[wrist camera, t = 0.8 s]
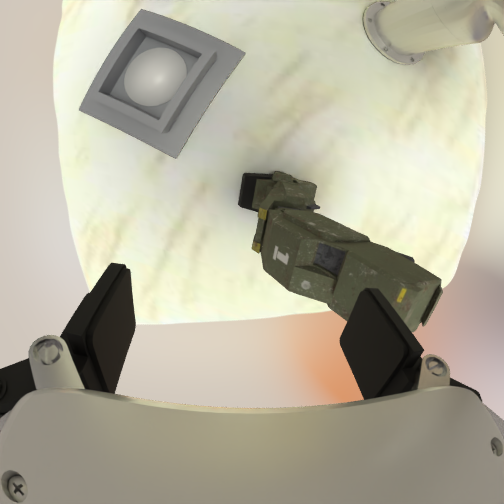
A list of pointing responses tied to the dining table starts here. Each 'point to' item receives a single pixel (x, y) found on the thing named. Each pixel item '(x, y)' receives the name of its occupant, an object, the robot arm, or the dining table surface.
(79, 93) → the dining table surface
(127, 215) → the dining table surface
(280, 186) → the mechanical leg
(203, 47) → the housing
